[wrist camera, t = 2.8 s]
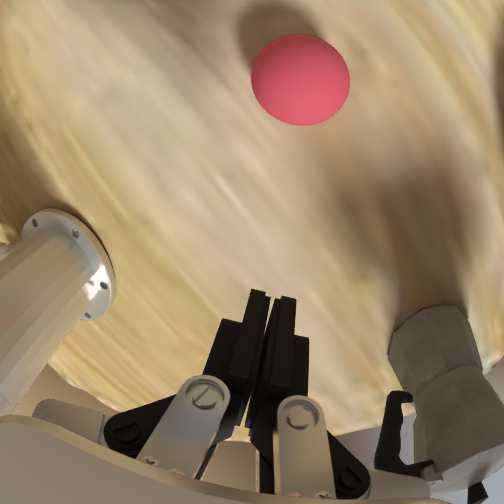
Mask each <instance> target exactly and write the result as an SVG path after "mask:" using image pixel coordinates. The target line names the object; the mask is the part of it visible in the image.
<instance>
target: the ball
mask: <svg viewBox="0 0 504 504" xmlns="http://www.w3.org/2000/svg"><path fill="white" fill-rule="evenodd" d="M251 83H252V88H253V92H254V94H255V96H256V99H257V100H258V102H259V103H260V105H261V106H262V107H263V108H264V109H265V110H266V111H267V112H268V113H269V114H270V115H272V116H273V117H274V118H276V119H278V120H280V121H282V122H285V123H288V124H292V125H300V126H306V125H314V124H318V123H321V122H323V121H325V120H327V119H329V118H331V117H332V116H334V115H335V114H336V113H337V112H338V111H339V110H340V109H341V107H342V106H343V104H344V103H345V101H346V99H347V96H348V93H349V88H350V77H349V71H348V68H347V65H346V63H345V61H344V59H343V58H342V56H341V55H340V54H339V52H338V51H337V50H336V49H335V48H334V47H333V46H331V45H330V44H329V43H327V42H325V41H324V40H322V39H319V38H317V37H314V36H310V35H304V34H293V35H287V36H283V37H280V38H278V39H276V40H274V41H272V42H271V43H269V44H268V45H267V46H265V47H264V48H263V49H262V51H261V52H260V53H259V54H258V56H257V58H256V59H255V62H254V64H253V68H252V73H251Z"/></svg>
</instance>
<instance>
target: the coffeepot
mask: <svg viewBox="0 0 504 504" xmlns="http://www.w3.org/2000/svg"><path fill="white" fill-rule="evenodd" d="M388 360H389V362H390V364H391V366H392V368H393V370H394V372H395V374H396V376H397V378H398V380H399V382H400V384H401V386H402V388H403V390H404V391H391V392H390V394H389V395H388V396H387V401H386V407H385V413H384V418H383V423H382V428H381V433H380V438H379V442H378V446H377V449H376V453H375V458H374V468H375V469H377V470H381V471H386V472H391V473H396V474H401V475H407V476H412V477H419V478H421V479H424V480H425V481H426V482H427V483H428V485H429V487H430V496H433V495H439V494H444V493H449V492H454V491H459V490H463V489H468V502H467V504H481V503H482V502H483V501H485V500H486V499H487V498H488V495H487V493H486V491H485V488H484V486H483V484H482V481H483V480H484V479H486V478H487V477H488V476H490V475H491V474H493V473H494V472H496V471H497V470H499V469H500V468H501V467H503V466H504V404H503V403H502V401H501V400H500V398H499V397H498V395H497V393H496V392H495V390H494V389H493V387H492V386H491V385H490V383H489V382H488V381H487V380H486V379H485V378H484V376H483V373H482V371H483V367H482V363H481V359H480V356H479V352H478V349H477V345H476V342H475V339H474V335H473V332H472V329H471V326H470V323H469V321H468V320H467V319H466V317H465V316H464V315H463V313H462V312H461V311H460V310H459V309H458V308H457V306H456V305H437V306H432V307H429V308H426V309H422V310H421V311H419V312H417V313H416V314H414V315H413V316H411V317H410V318H408V319H407V320H406V321H405V322H404V323H403V324H402V325H401V326H400V327H399V328H398V330H397V331H396V332H394V333H393V337H392V340H391V343H390V350H389V356H388ZM408 402H409V403H410V404H411V405H412V406H413V407H415V410H416V414H417V417H416V419H415V421H414V424H413V430H414V464H411V465H405V464H404V463H403V462H402V461H401V459H400V457H399V453H400V448H401V438H400V430H401V426H402V423H403V413H402V409H401V404H402V403H408Z"/></svg>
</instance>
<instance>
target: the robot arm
mask: <svg viewBox="0 0 504 504" xmlns="http://www.w3.org/2000/svg"><path fill="white" fill-rule="evenodd" d="M265 294H266V292H264V291H259V290H255V289H251V292H250V296H249V299H248V303H247V307H246V310H245V314H244V318H243V321H242V323H240V322H236V321H232V320H228V319H224V318H223V319H222V321H221V323H220V326H219V329H218V331H217V334H216V337H215V340H214V343H213V346H212V348H211V351H210V354H209V357H208V360H207V362H206V365H205V368H204V371H203V374H202V375H197V376H193V377H191V378H189V379H188V380H186V381H185V383H184V384H183V385H182V386H181V388H180V390H179V391H178V393H177V394H175V395H173V396H170V397H167V398H164V399H161V400H159V401H156V402H153V403H150V404H147V405H144V406H141V407H138V408H135V409H132V410H128V411H125V412H122V413H119V414H116V415H114V416H111V415H107V414H104V412H103V411H99V410H94V409H90V408H85V407H81V406H77V405H73V404H69V403H65V402H62V401H58V400H55V399H46V400H43V401H41V402H40V403H38V404H37V406H36V407H35V409H34V412H33V415H32V417H29V416H23V415H11V414H12V413H13V412H14V410H15V408H16V407H17V405H18V404H19V402H20V401H21V399H22V398H23V396H24V395H25V393H26V392H27V390H28V389H29V388H30V386H31V385H32V383H33V382H34V380H35V379H36V377H37V376H38V375H39V373H40V372H41V370H42V369H43V368H44V366H45V365H46V364H47V362H48V361H49V359H50V358H51V357H52V355H53V354H54V353H55V351H56V350H57V349H58V347H59V346H60V345H61V343H62V342H63V341H64V340H65V338H66V337H67V336H68V334H69V333H70V332H71V331H72V329H73V328H74V327H75V325H76V324H77V323H78V322H79V320H84V321H90V320H95V319H98V318H100V317H101V316H102V315H104V314H105V313H106V311H107V310H108V309H109V307H110V306H111V304H112V302H113V300H114V296H115V278H114V273H113V269H112V266H111V263H110V261H109V258H108V256H107V254H106V252H105V250H104V249H103V247H102V245H101V244H100V242H99V241H98V239H97V238H96V237H95V235H94V234H93V233H92V232H91V231H90V230H89V229H88V227H87V226H86V225H85V224H83V223H82V222H81V221H80V220H78V219H77V218H76V217H74V216H72V215H71V214H69V213H67V212H65V211H62V210H59V209H51V208H49V209H44V210H41V211H39V212H37V213H35V214H34V215H32V216H31V217H30V218H29V219H28V220H27V221H26V223H25V224H24V227H23V229H22V232H21V239H20V241H18V242H17V243H15V244H13V243H11V244H8V245H7V244H6V243H3V242H1V241H0V504H451V503H449V502H446V501H443V500H439V499H434V498H430V487H429V485H428V483H427V482H426V481H425V480H424V479H421V478H419V477H412V476H407V475H401V474H396V473H391V472H386V471H381V470H377V469H375V470H374V471H371V470H367V469H366V467H365V466H364V465H363V464H362V463H361V462H360V461H359V460H358V459H356V458H355V457H354V456H353V455H352V454H351V453H350V452H349V451H348V450H347V449H346V448H345V447H344V446H343V445H342V444H341V443H340V442H339V441H338V440H337V439H336V438H335V437H334V436H333V435H332V434H331V433H330V432H329V431H328V430H327V429H326V423H325V417H324V413H323V410H322V408H321V407H320V405H319V404H318V403H317V402H315V401H314V400H313V399H311V398H309V397H308V372H309V338H308V337H303V336H298V335H294V331H295V316H296V299H294V298H290V297H285V296H281V299H276V298H275V300H274V304H273V307H272V310H271V314H270V317H269V321H268V324H267V328H266V331H265V327H266V321H267V316H268V310H269V304H270V299H271V297H268V296H265ZM264 332H265V334H264ZM250 395H251V397H250ZM249 398H250V402H249V407H248V411H247V416H246V421H245V427H246V428H250V430H249V435H248V436H250V437H251V438H250V441H251V443H252V444H253V445H254V446H255V447H256V449H257V450H256V492H252V491H246V490H241V489H236V488H231V487H226V486H221V485H217V484H212V483H209V482H204V481H201V480H202V478H203V476H204V473H205V471H206V470H207V468H208V465H209V463H210V461H211V459H212V457H213V455H214V453H215V451H216V449H217V446H218V444H219V442H221V441H223V440H225V439H227V438H229V437H231V436H232V433H233V430H234V426H235V425H237V426H240V424H241V421H242V418H243V415H244V412H245V410H246V407H247V404H248V401H249Z"/></svg>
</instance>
